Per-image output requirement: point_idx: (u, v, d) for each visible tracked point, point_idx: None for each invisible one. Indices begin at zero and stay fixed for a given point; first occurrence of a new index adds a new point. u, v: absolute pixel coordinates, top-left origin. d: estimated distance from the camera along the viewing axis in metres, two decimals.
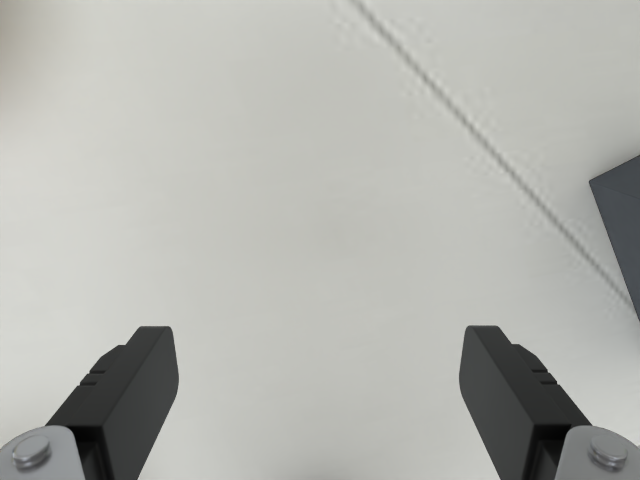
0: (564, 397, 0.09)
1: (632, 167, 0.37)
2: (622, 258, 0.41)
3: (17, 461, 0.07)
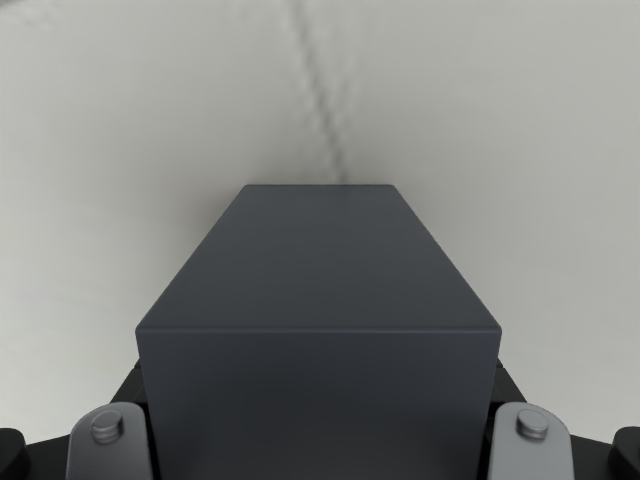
0: (507, 379, 0.09)
1: None
2: None
3: (96, 432, 0.07)
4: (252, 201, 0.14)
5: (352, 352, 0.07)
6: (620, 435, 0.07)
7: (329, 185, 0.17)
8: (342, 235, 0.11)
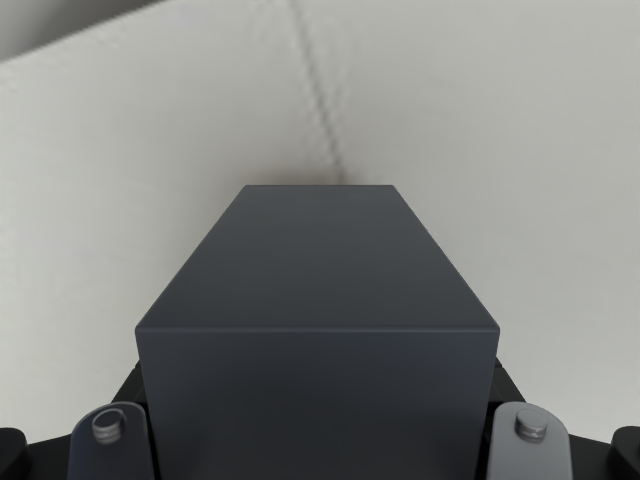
0: (506, 378, 0.09)
1: None
2: None
3: (97, 432, 0.07)
4: (252, 201, 0.14)
5: (351, 351, 0.07)
6: (618, 435, 0.07)
7: (329, 185, 0.17)
8: (341, 235, 0.11)
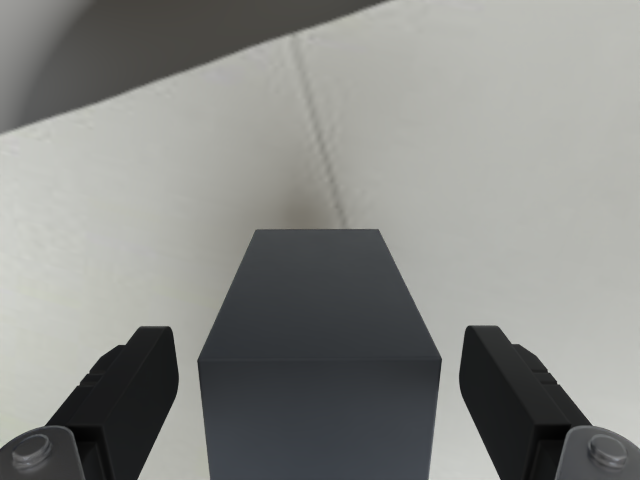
0: (564, 397, 0.09)
1: None
2: None
3: (17, 461, 0.07)
4: (263, 247, 0.18)
5: (343, 374, 0.10)
6: None
7: (325, 229, 0.20)
8: (336, 281, 0.14)
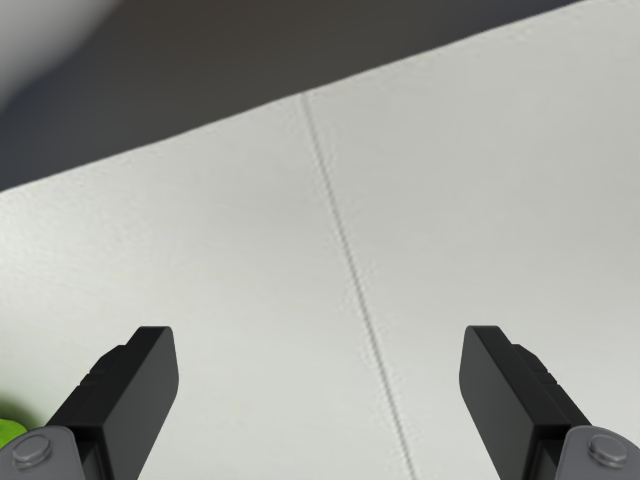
0: (564, 397, 0.09)
1: None
2: None
3: (17, 461, 0.07)
4: None
5: None
6: None
7: None
8: None
